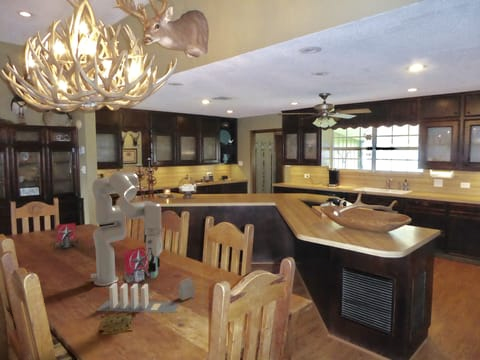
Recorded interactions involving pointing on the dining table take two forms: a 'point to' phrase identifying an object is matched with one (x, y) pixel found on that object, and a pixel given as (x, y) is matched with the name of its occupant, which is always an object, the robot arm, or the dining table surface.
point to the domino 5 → (154, 274)
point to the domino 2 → (124, 295)
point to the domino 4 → (144, 296)
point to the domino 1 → (113, 295)
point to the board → (152, 307)
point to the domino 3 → (134, 296)
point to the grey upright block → (186, 289)
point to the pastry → (116, 323)
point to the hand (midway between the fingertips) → (154, 268)
